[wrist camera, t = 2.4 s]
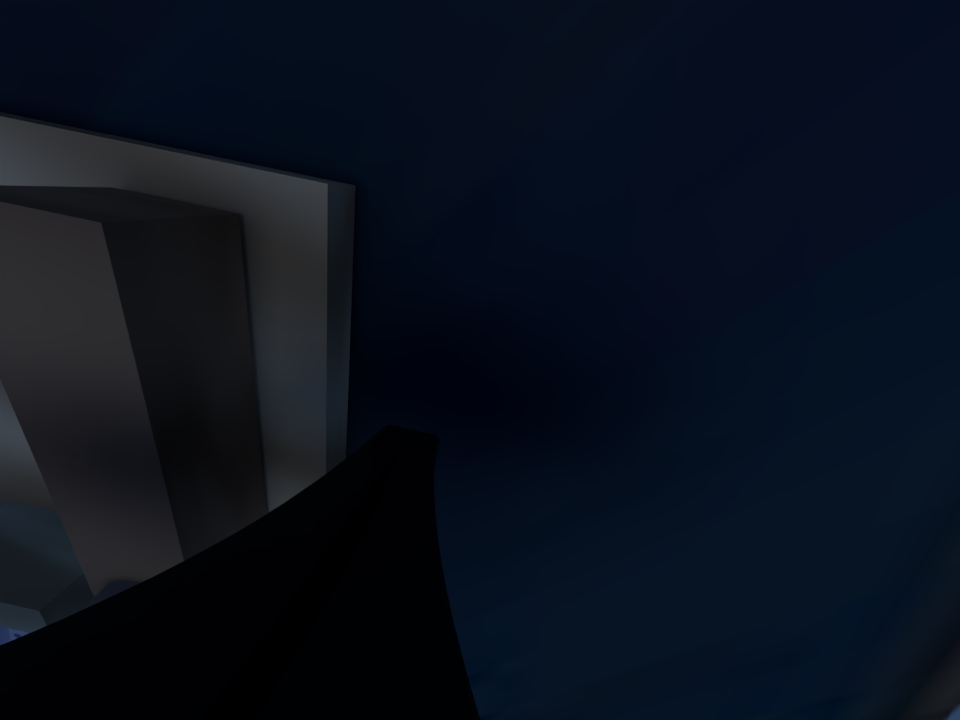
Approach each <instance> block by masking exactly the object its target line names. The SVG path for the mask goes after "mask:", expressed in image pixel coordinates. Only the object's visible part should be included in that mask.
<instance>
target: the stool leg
mask: <svg viewBox="0 0 960 720" xmlns="http://www.w3.org/2000/svg"><path fill="white" fill-rule="evenodd" d="M0 379H1V382H2V384H3V386H4V389H5V391H6V393H7V396H8V398H9V400H10V403H11V405H12V407H13V410H14V412H15V414H16V417H17V419H18V421H19V424H20V426H21V428H22V431H23V433H24V435H25V438H26V440H27V442H28V445H29V447H30V449H31V452H32V454H33V456H34V459H35V461H36V463H37V465H38V468H39V470H40V472H41V475H42V477H43V479H44V482H45V484H46V486H47V489H48V491H49V493H50V496H51V498H52V500H53V503H54V505H55V507H56V510H57V512H58V514H59V517H60V519H61V521H62V524H63V526H64V528H65V531H66V533H67V535H68V538H69V540H70V542H71V544H72V547H73V549H74V551H75V554H76V556H77V558H78V561H79V563H80V565H81V568H82V570H83V572H84V575H85V577H86V579H87V582H88V584H89V586H90V589H91V591H92V593H93V596H94V598H93V599H92V600H91V601H90V602H88V603H87V604H86V605H85V606H84V607H83V608H82V609H81V610H83V609H86V608H88V607H90V606H92V605H94V604H96V603H98V602H100V601H103V600H105V599H107V598H109V597H111V596H113V595H115V594H117V593H120V592H122V591H124V590H126V589H128V588H130V587H132V586H135V585H137V584H139V583H141V582H143V581H145V580H147V579H149V578H151V577H153V576H155V575H157V574H159V573H161V572H163V571H165V570H167V569H169V568H171V567H173V566H175V565H177V564H179V563H181V562H183V561H185V560H187V559H189V558H190V557H192V556H194V555H196V554H198V553H200V552H201V551H203V550H205V549H207V548H209V547H211V546H212V545H214V544H216V543H218V542H220V541H222V540H224V539H225V538H227V537H229V536H231V535H232V534H234V533H236V532H238V531H239V530H241V529H243V528H244V527H246V526H248V525H249V524H251V523H253V522H254V521H256V520H258V519H259V518H261V517H263V516H264V515H266V510H265V499H264V488H263V477H262V466H261V455H260V444H259V433H258V423H257V412H256V401H255V390H254V379H253V368H252V357H251V346H250V335H249V325H248V314H247V303H246V292H245V281H244V270H243V259H242V248H241V238H240V227H239V216H238V214H237V213H232V212H227V211H223V210H218V209H213V208H208V207H204V206H199V205H194V204H189V203H184V202H180V201H175V200H170V199H165V198H161V197H156V196H151V195H146V194H141V193H137V192H132V191H127V190H122V189H118V188H113V187H63V186H9V185H0ZM81 610H80V611H81Z"/></svg>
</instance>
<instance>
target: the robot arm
mask: <svg viewBox="0 0 960 720" xmlns="http://www.w3.org/2000/svg"><path fill="white" fill-rule="evenodd" d="M438 445H439V439H438V437H437V436H436V435H433V434H429V433H424V432H420V431H415V430H410V429H406V428H401V427H397V426H392V425H387V426H385V427H383V428H382V429H381V430H380V431H379V432H378V433H376V434H375V435H374V436H373V437H372V438H370V439H369V440H368V441H367V442H366V443H364V444H363V445H362V446H361V447H360V448H358V449H357V450H356V451H355V452H353V453H352V454H351V455H350V456H348V457H347V458H346V459H344V460H343V461H342V462H341V463H339V464H338V465H337V466H335V467H334V468H333V469H331V470H330V471H329V472H327V473H326V474H325V475H323V476H322V477H321V478H319V479H318V480H317V481H315V482H314V483H312V484H311V485H309V486H308V487H306V488H305V489H303V490H302V491H301V492H299V493H298V494H296V495H295V496H293V497H292V498H290V499H289V500H288V501H286V502H285V503H283V504H282V505H280V506H278V507H277V508H275V509H274V510H272V511H271V512H269V513H267V514H266V515H264V516H263V517H261V518H259V519H258V520H256V521H254V522H253V523H251V524H249V525H248V526H246V527H244V528H243V529H241V530H239V531H238V532H236V533H234V534H232V535H231V536H229V537H227V538H225V539H224V540H222V541H220V542H218V543H216V544H214V545H212V546H211V547H209V548H207V549H205V550H203V551H201V552H200V553H198V554H196V555H194V556H192V557H190V558H189V559H187V560H185V561H183V562H181V563H179V564H177V565H175V566H173V567H171V568H169V569H167V570H165V571H163V572H161V573H159V574H157V575H155V576H153V577H151V578H149V579H147V580H145V581H143V582H141V583H139V584H137V585H135V586H132V587H130V588H128V589H126V590H124V591H122V592H120V593H117V594H115V595H113V596H111V597H109V598H107V599H105V600H103V601H100V602H98V603H96V604H94V605H92V606H90V607H88V608H86V609H83V610H81V611H79V612H77V613H75V614H72V615H70V616H68V617H66V618H63V619H61V620H59V621H57V622H54V623H52V624H50V625H47V626H45V627H43V628H41V629H38V630H36V631H34V632H31V633H27V632H23V631H18V630H14V629H10V628H5V627H1V626H0V720H480V718H479V714H478V711H477V708H476V704H475V701H474V698H473V694H472V691H471V688H470V684H469V680H468V676H467V673H466V669H465V665H464V661H463V657H462V653H461V649H460V646H459V642H458V638H457V634H456V630H455V626H454V622H453V618H452V613H451V609H450V604H449V599H448V595H447V590H446V585H445V579H444V574H443V568H442V563H441V556H440V550H439V543H438V534H437V526H436V516H435V501H434V469H435V463H436V457H437V451H438Z"/></svg>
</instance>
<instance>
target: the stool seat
mask: <svg viewBox="0 0 960 720" xmlns="http://www.w3.org/2000/svg"><path fill="white" fill-rule="evenodd" d="M0 185H9V186H63V187H113V188H118V189H122V190H127V191H132V192H137V193H141V194H146V195H151V196H156V197H161V198H165V199H170V200H175V201H180V202H184V203H189V204H194V205H199V206H204V207H208V208H213V209H218V210H223V211H227V212H232V213H237V214H238V216H239V227H240V238H241V248H242V259H243V270H244V281H245V292H246V303H247V314H248V325H249V335H250V346H251V357H252V368H253V379H254V390H255V401H256V412H257V423H258V433H259V444H260V455H261V466H262V477H263V488H264V499H265V510H266V514H267V513H269V512H271V511H272V510H274V509H275V508H277V507H278V506H280V505H282V504H283V503H285V502H286V501H288V500H289V499H290V498H292V497H293V496H295V495H296V494H298V493H299V492H301V491H302V490H303V489H305V488H306V487H308V486H309V485H311V484H312V483H314V482H315V481H317V480H318V479H319V478H321V477H322V476H323V475H325V474H326V473H327V472H329V471H330V470H331V469H333V468H334V467H335V466H337V465H338V464H339V463H341V462H342V461H343V460H344V459H346V444H347V416H348V388H349V359H350V331H351V303H352V275H353V246H354V218H355V190H356V185H351V184H346V183H341V182H337V181H332V180H327V179H322V178H317V177H312V176H307V175H303V174H298V173H293V172H288V171H283V170H278V169H274V168H269V167H264V166H259V165H254V164H249V163H245V162H240V161H235V160H230V159H225V158H220V157H216V156H211V155H206V154H201V153H196V152H191V151H187V150H182V149H177V148H172V147H167V146H162V145H158V144H153V143H148V142H143V141H138V140H133V139H128V138H124V137H119V136H114V135H109V134H104V133H99V132H95V131H90V130H85V129H80V128H75V127H70V126H66V125H61V124H56V123H51V122H46V121H41V120H37V119H32V118H27V117H22V116H17V115H12V114H8V113H3V112H0ZM93 598H94V596H93V593H92V591H91V589H90V586H89V584H88V582H87V579H86V577H85V575H84V572H83V570H82V568H81V565H80V563H79V561H78V558H77V556H76V554H75V551H74V549H73V547H72V544H71V542H70V540H69V538H68V535H67V533H66V531H65V528H64V526H63V524H62V521H61V519H60V517H59V514H58V512H57V510H56V507H55V505H54V503H53V500H52V498H51V496H50V493H49V491H48V489H47V486H46V484H45V482H44V479H43V477H42V475H41V472H40V470H39V468H38V465H37V463H36V461H35V459H34V456H33V454H32V452H31V449H30V447H29V445H28V442H27V440H26V438H25V435H24V433H23V431H22V428H21V426H20V424H19V421H18V419H17V417H16V414H15V412H14V410H13V407H12V405H11V403H10V400H9V398H8V396H7V393H6V391H5V389H4V386H3V384H2V382H1V379H0V626H1V627H5V628H10V629H14V630H18V631H23V632H27V633H31V632H34V631H36V630H38V629H41V628H43V627H45V626H47V625H50V624H52V623H54V622H57V621H59V620H61V619H63V618H66V617H68V616H70V615H72V614H75V613H77V612H79V611H80V610H81V609H82V608H83V607H84V606H85V605H86V604H87V603H88V602H90V601H91V600H92V599H93Z"/></svg>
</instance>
